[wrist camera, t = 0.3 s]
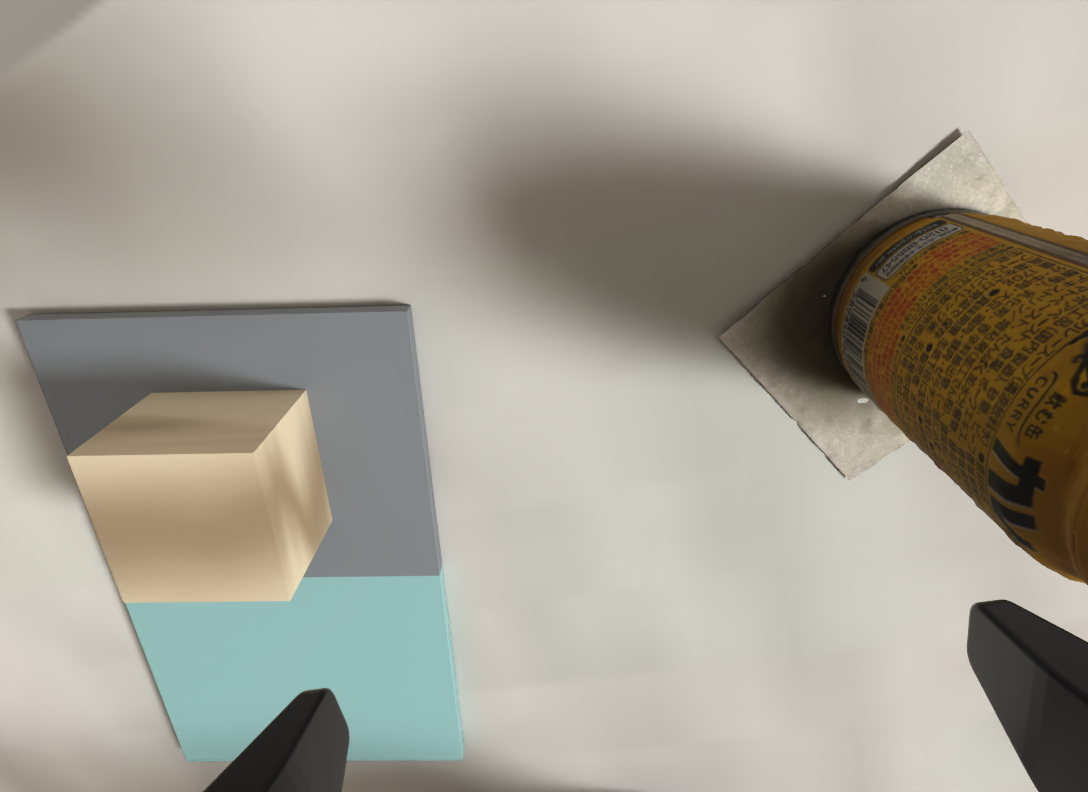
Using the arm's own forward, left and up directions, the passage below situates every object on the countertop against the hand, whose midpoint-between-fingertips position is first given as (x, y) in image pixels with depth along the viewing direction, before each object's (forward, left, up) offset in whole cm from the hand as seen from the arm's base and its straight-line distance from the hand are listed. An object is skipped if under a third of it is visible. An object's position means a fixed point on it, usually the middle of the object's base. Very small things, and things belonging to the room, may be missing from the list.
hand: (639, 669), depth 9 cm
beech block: (-3, +12, -12) cm, 17 cm away
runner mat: (-8, +12, -13) cm, 19 cm away
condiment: (+1, -9, -13) cm, 16 cm away
